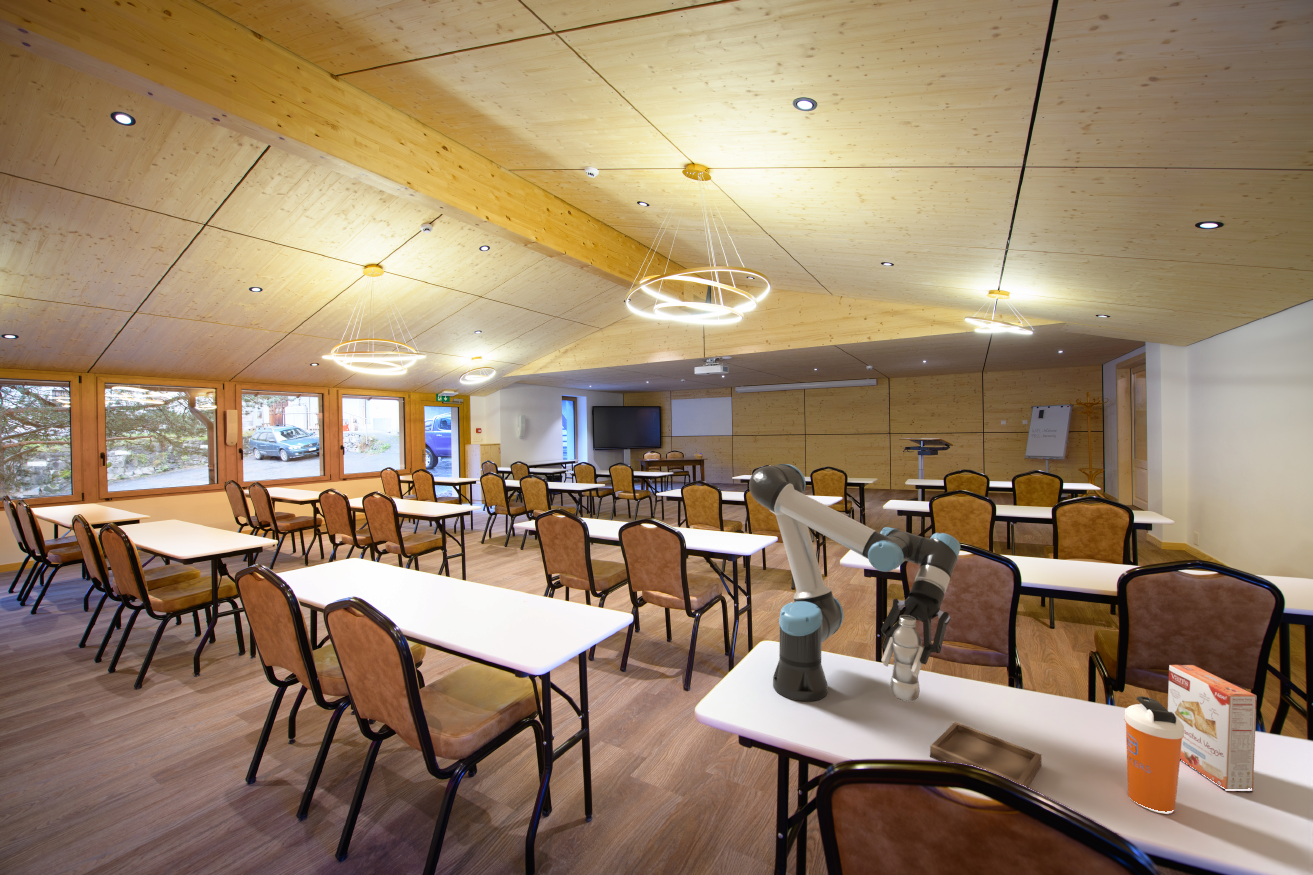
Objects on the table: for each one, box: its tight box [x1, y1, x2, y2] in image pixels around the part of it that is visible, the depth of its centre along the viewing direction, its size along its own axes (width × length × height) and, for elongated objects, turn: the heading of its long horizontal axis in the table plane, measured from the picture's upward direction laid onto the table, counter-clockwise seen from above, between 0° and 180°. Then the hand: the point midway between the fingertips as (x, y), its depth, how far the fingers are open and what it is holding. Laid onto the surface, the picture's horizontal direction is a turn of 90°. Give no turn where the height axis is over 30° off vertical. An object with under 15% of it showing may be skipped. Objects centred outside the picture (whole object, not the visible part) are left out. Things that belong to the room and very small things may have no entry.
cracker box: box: [1167, 664, 1257, 790], centre depth 120 cm, size 14×6×21 cm, turn 178°
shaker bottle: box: [1123, 695, 1184, 812], centre depth 110 cm, size 9×9×20 cm
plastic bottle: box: [889, 614, 922, 702], centre depth 134 cm, size 6×7×20 cm
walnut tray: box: [929, 721, 1042, 788], centre depth 124 cm, size 18×15×2 cm
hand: (899, 668), depth 131 cm, fingers closed on plastic bottle, 6 cm apart
